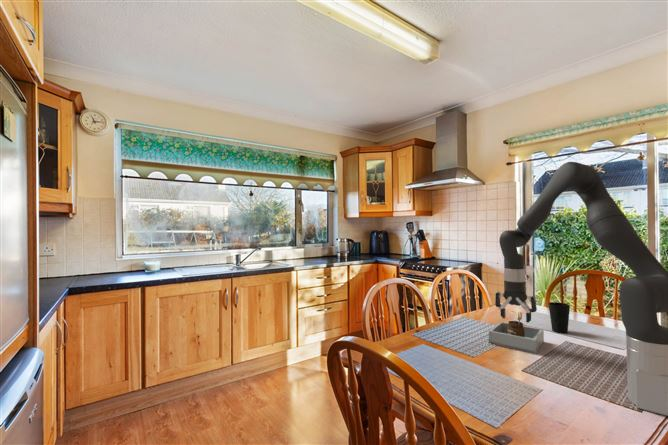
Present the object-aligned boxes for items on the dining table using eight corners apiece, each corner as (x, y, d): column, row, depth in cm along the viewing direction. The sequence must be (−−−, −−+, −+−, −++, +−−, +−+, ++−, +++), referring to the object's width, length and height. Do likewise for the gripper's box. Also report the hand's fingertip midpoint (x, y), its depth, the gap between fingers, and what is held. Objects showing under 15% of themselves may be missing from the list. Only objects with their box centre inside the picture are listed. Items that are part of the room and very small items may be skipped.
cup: (553, 333, 135) (552, 305, 135) (546, 328, 142) (545, 301, 142) (574, 335, 132) (573, 306, 133) (566, 329, 140) (565, 302, 140)
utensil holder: (518, 337, 128) (518, 308, 128) (528, 342, 122) (527, 312, 122) (504, 337, 128) (503, 308, 128) (514, 343, 122) (513, 312, 122)
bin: (535, 354, 114) (535, 340, 114) (488, 343, 125) (488, 331, 125) (543, 341, 125) (543, 329, 125) (500, 333, 136) (500, 321, 136)
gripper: (492, 279, 127) (493, 318, 127) (533, 282, 118) (534, 325, 117) (497, 276, 133) (499, 315, 133) (537, 280, 123) (538, 321, 123)
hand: (515, 320), depth 125 cm, fingers open, 8 cm apart
